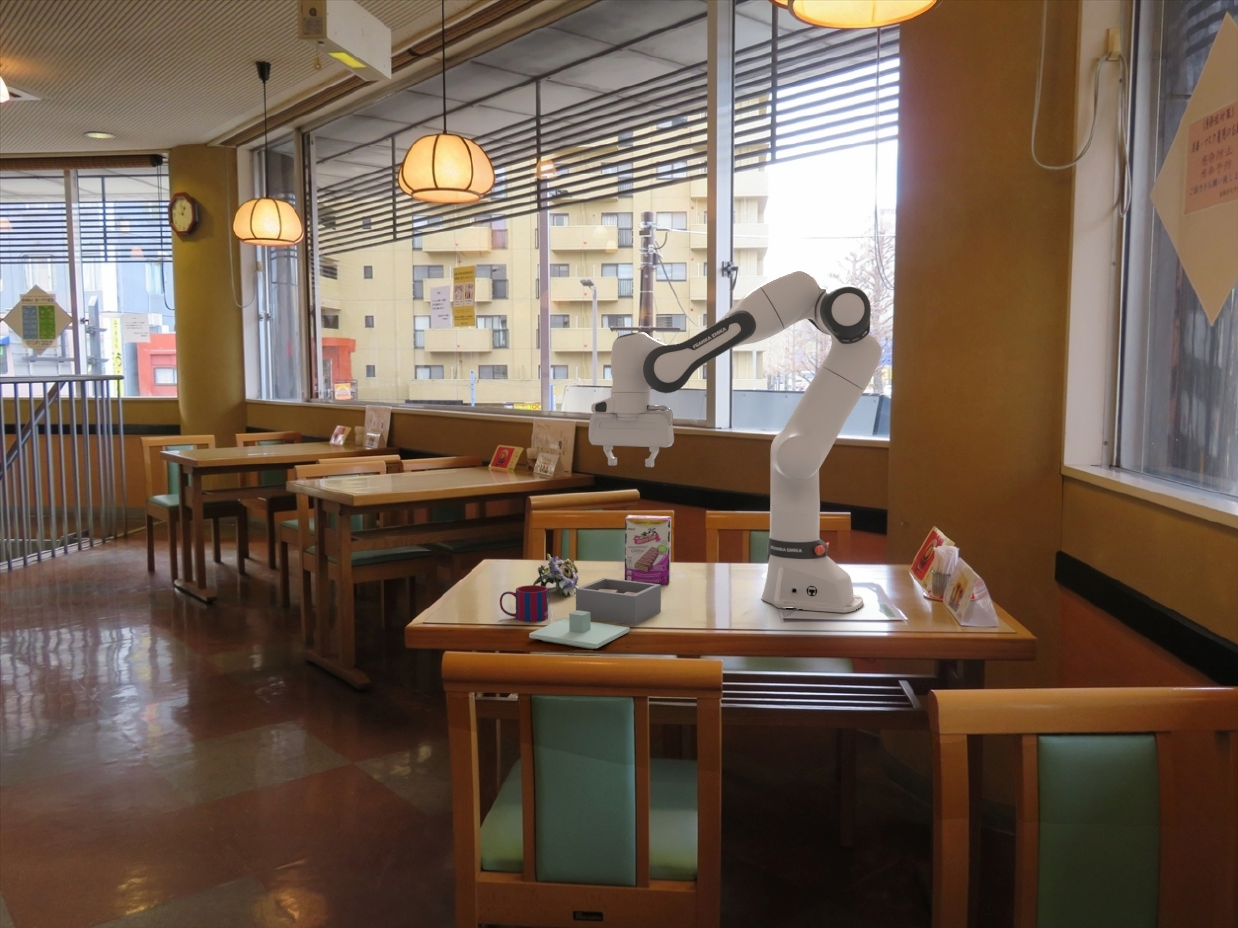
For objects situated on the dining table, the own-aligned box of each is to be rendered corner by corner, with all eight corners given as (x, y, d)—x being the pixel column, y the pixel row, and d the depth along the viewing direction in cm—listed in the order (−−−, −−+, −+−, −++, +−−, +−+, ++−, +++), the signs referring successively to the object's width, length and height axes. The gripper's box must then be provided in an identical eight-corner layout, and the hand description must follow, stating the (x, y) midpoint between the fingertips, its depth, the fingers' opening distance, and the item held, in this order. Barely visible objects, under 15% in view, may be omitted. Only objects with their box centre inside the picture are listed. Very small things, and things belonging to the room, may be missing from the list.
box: (660, 614, 203) (660, 584, 202) (635, 627, 192) (635, 596, 192) (603, 606, 210) (603, 577, 209) (575, 619, 199) (575, 588, 198)
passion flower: (570, 620, 219) (570, 586, 211) (525, 609, 221) (524, 574, 213) (584, 584, 227) (585, 550, 219) (541, 574, 229) (540, 540, 221)
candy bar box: (624, 584, 231) (624, 517, 230) (626, 579, 236) (626, 514, 235) (670, 585, 230) (670, 518, 229) (670, 580, 235) (671, 515, 234)
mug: (546, 625, 195) (546, 592, 194) (498, 624, 195) (497, 592, 194) (549, 616, 201) (549, 585, 201) (502, 616, 201) (502, 584, 201)
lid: (629, 637, 187) (629, 609, 186) (596, 654, 176) (596, 625, 175) (564, 627, 194) (564, 601, 194) (529, 643, 183) (529, 615, 182)
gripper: (678, 405, 212) (678, 466, 213) (598, 404, 221) (598, 463, 222) (666, 406, 206) (666, 469, 207) (584, 405, 215) (585, 465, 217)
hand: (631, 466), depth 215 cm, fingers open, 8 cm apart
